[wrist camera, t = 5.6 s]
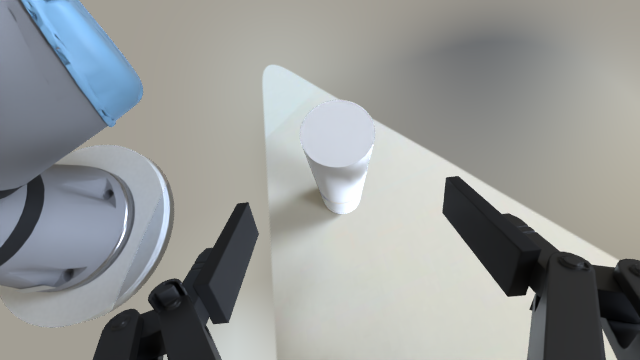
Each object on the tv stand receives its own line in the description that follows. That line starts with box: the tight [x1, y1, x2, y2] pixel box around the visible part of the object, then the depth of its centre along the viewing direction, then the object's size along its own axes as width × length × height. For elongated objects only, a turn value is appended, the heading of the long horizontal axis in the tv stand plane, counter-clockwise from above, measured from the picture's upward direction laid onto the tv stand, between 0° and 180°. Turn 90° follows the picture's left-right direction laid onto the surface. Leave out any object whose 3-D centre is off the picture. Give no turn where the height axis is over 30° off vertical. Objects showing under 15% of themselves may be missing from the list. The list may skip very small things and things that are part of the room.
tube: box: [300, 100, 375, 214], centre depth 21 cm, size 4×4×15 cm
